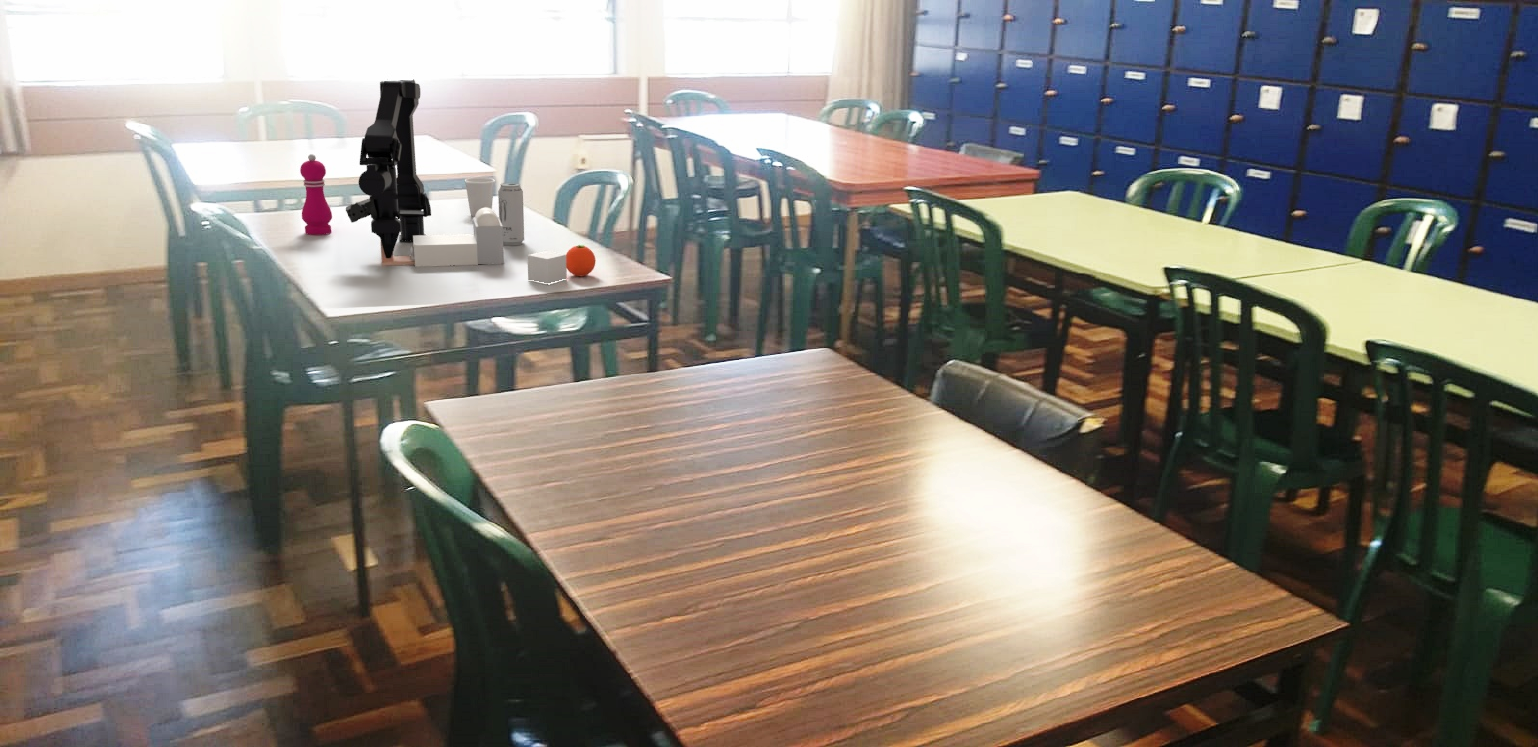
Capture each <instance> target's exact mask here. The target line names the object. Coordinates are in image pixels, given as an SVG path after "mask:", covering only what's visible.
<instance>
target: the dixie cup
mask: <svg viewBox="0 0 1538 747" xmlns="http://www.w3.org/2000/svg"><path fill="white" fill-rule="evenodd" d="M495 182H496V180H495V179H494V178H490V177H469V178H467V177H466V178H465V179H464V183H465V189H466V194H467V195H466V196H467V201H468V206H469V212H470V213H469V214H470V216H471V217H473V218H475V216H476V213H477V211H478V210H480V209H481V208H485V207H486V208H490V209H492V210H493V201H494V200H493V199H494V190H495V189H494V187H495Z"/></svg>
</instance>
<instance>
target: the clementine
mask: <svg viewBox="0 0 1538 747" xmlns="http://www.w3.org/2000/svg"><path fill="white" fill-rule="evenodd" d="M565 255H566V268H567V271H568V272H569V273H570V274H572V275H573V276H575V277H584V276H587V275H589V274H591V273H592V271H594V268H595V267H596V256H595V253H594V252H593V251H592V249H591V248H589V247H587V246H585V244H581V245H580V244H579V245H575V246H573V247H571V248H570V249H568V250H567V252H566V253H565Z"/></svg>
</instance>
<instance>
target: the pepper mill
mask: <svg viewBox="0 0 1538 747" xmlns="http://www.w3.org/2000/svg"><path fill="white" fill-rule="evenodd" d="M316 158H317V157H316V155H315V154H312V153H311V154H309V155H308V160H306V161H304V162H303V163H302V164H301V165H300V175H301V176H302V178H303V181H302V182H303V186H304V187H305V190H306V192H305V194H306V195H305V201H304V203H303V206H302V210H301V219H302V221H303V222H304V223H305V224H306V225H305V226H304V233H305V234H306V235H310V236H324V235H330V234H331V233H332V226H331V225H330V224H329V223H330V222H331V221H332V219H333V215H332V214H333V213H332V210H331V209H332V208H331V207H330V205H329V204H328V202H327V199H326V197H325V192H324V187H325V179H324V177H325V176H326V175H327V174H326V173H327V169H326V166H325V164H324V163H323V162H321V161H319V160H316Z"/></svg>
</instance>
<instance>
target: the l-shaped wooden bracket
mask: <svg viewBox="0 0 1538 747" xmlns="http://www.w3.org/2000/svg"><path fill="white" fill-rule="evenodd" d="M380 254H381V266H407V265H408V266H409V265H410V266H411V265H414V266H415V259H414V260H412V259H411V255H394V252H393V253H392V256H391V258H386V256H385V253H384V249H383V246H382V243H381V242H380Z"/></svg>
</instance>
